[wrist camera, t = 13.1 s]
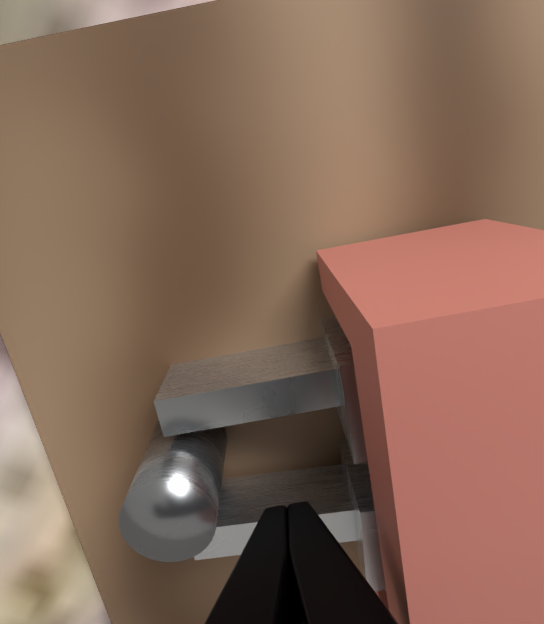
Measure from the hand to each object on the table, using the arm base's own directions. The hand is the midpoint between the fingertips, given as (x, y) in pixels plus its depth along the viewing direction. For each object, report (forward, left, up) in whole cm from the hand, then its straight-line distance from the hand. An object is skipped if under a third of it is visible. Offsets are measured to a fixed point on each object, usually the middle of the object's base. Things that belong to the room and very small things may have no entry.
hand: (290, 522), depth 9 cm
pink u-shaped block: (-4, 0, -3) cm, 5 cm away
